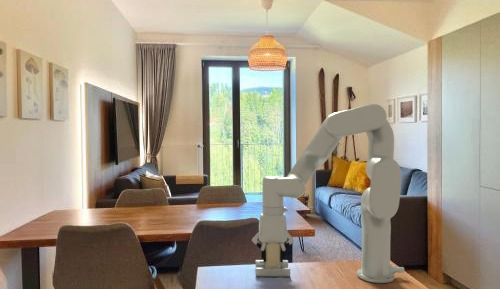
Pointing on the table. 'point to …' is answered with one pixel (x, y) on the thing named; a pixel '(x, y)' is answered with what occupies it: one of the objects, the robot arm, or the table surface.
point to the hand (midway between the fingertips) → (272, 260)
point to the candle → (273, 255)
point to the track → (272, 270)
